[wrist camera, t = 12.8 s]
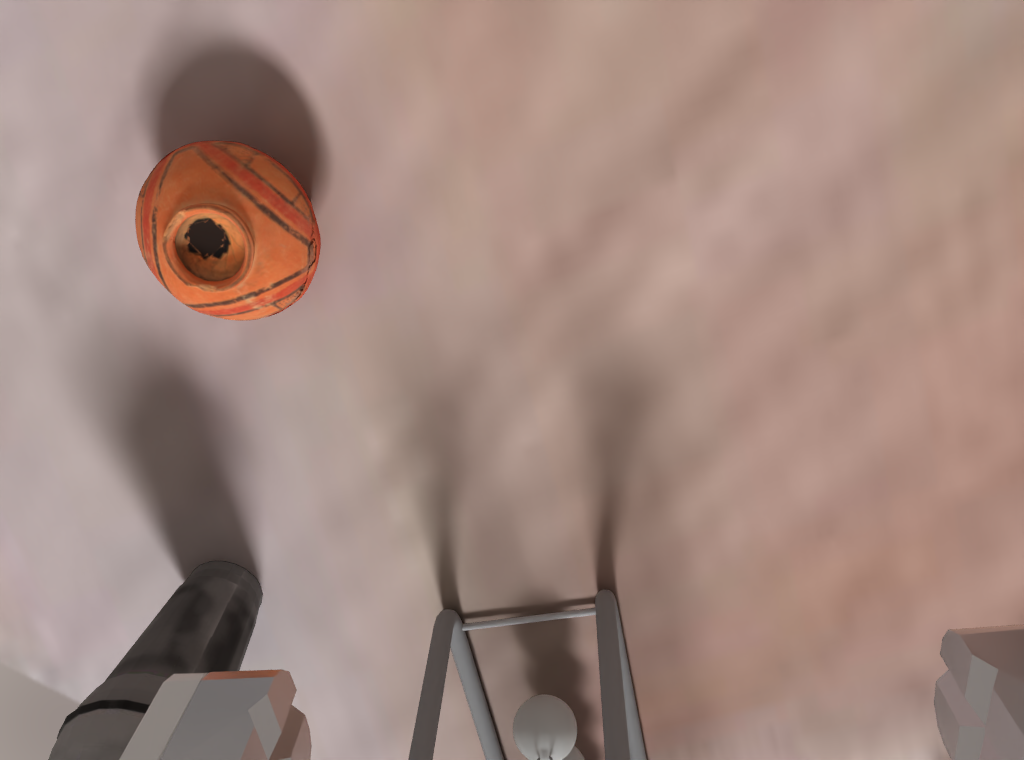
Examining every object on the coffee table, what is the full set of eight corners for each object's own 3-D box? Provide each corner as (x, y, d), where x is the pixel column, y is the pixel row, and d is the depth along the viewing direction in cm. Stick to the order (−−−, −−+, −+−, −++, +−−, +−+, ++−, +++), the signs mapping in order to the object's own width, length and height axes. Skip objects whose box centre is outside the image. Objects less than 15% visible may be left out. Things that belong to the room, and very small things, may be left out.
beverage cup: (145, 552, 47) (-108, 900, 29) (259, 533, 46) (69, 881, 28) (194, 643, 50) (-7, 1008, 32) (302, 626, 49) (156, 995, 31)
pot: (125, 217, 38) (64, 230, 31) (245, 105, 37) (208, 94, 30) (250, 340, 40) (217, 375, 33) (365, 236, 39) (354, 252, 33)
